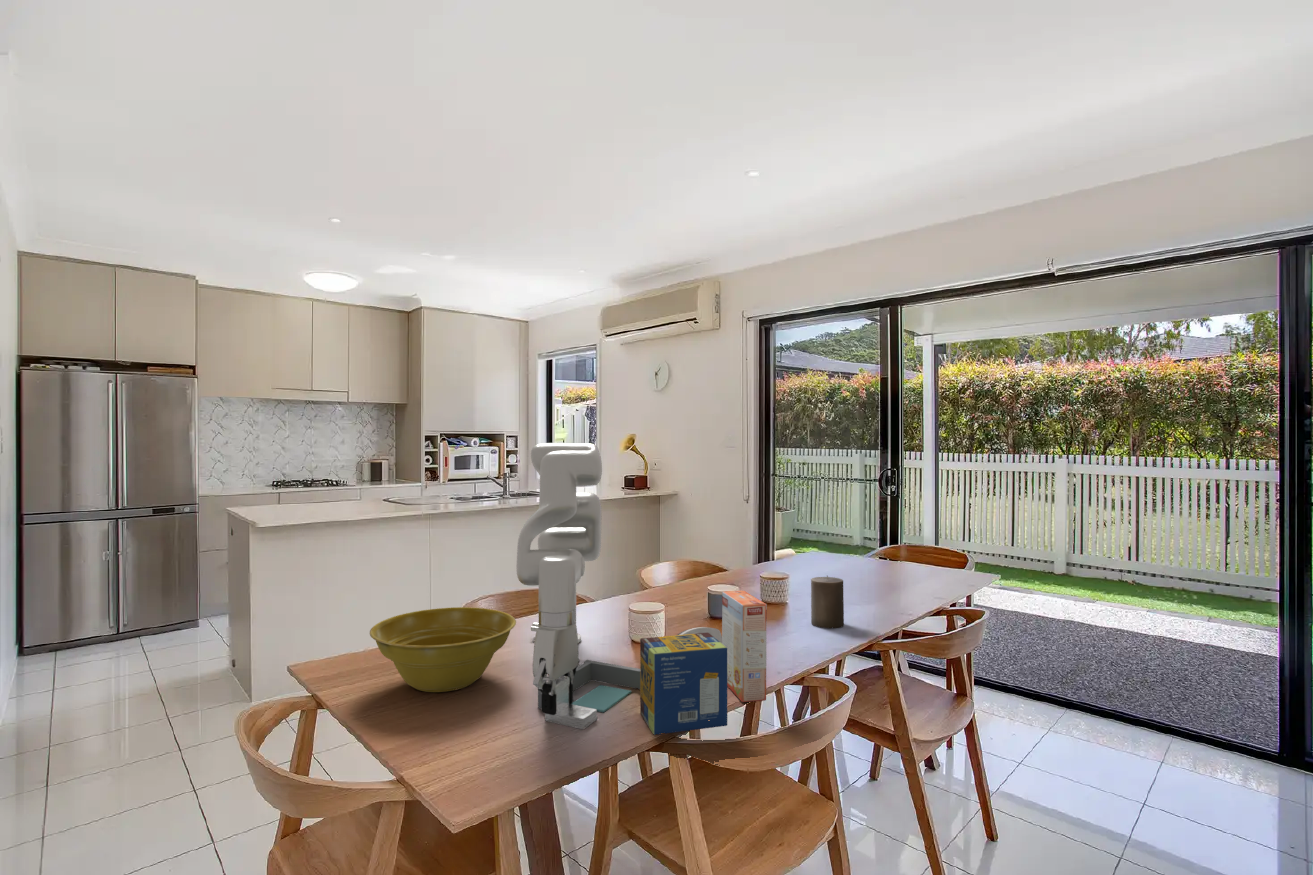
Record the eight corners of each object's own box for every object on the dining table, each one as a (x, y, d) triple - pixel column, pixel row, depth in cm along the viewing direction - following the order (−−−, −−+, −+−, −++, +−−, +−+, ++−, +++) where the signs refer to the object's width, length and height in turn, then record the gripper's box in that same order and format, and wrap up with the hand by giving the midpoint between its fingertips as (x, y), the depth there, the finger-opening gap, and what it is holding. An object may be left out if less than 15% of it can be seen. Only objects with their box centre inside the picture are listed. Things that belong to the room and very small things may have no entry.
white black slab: (682, 675, 154) (673, 632, 157) (670, 677, 158) (662, 635, 161) (733, 661, 164) (723, 621, 167) (721, 663, 168) (712, 623, 171)
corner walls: (536, 707, 136) (536, 688, 136) (587, 676, 154) (587, 659, 154) (613, 724, 128) (613, 703, 128) (657, 689, 146) (657, 671, 146)
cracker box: (768, 701, 139) (768, 603, 139) (741, 703, 138) (741, 604, 138) (745, 678, 153) (745, 589, 153) (721, 680, 151) (721, 590, 152)
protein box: (639, 713, 133) (639, 637, 133) (710, 705, 137) (709, 631, 137) (653, 736, 123) (652, 653, 123) (729, 726, 127) (728, 646, 127)
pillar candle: (847, 629, 193) (847, 578, 194) (814, 628, 193) (814, 578, 194) (838, 620, 203) (838, 572, 203) (807, 620, 203) (807, 572, 203)
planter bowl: (544, 673, 156) (544, 617, 156) (437, 722, 129) (437, 654, 129) (450, 651, 173) (450, 600, 173) (338, 691, 145) (338, 630, 145)
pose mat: (570, 705, 137) (570, 703, 137) (600, 686, 147) (600, 684, 147) (603, 712, 133) (603, 710, 133) (631, 692, 144) (631, 690, 144)
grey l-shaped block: (544, 720, 129) (544, 682, 129) (559, 711, 134) (559, 674, 134) (583, 729, 125) (583, 690, 125) (596, 719, 130) (596, 681, 130)
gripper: (565, 606, 140) (565, 690, 140) (515, 626, 125) (515, 721, 125) (595, 610, 137) (595, 696, 137) (547, 631, 122) (547, 728, 122)
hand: (557, 707), depth 131 cm, fingers closed on grey l-shaped block, 5 cm apart
